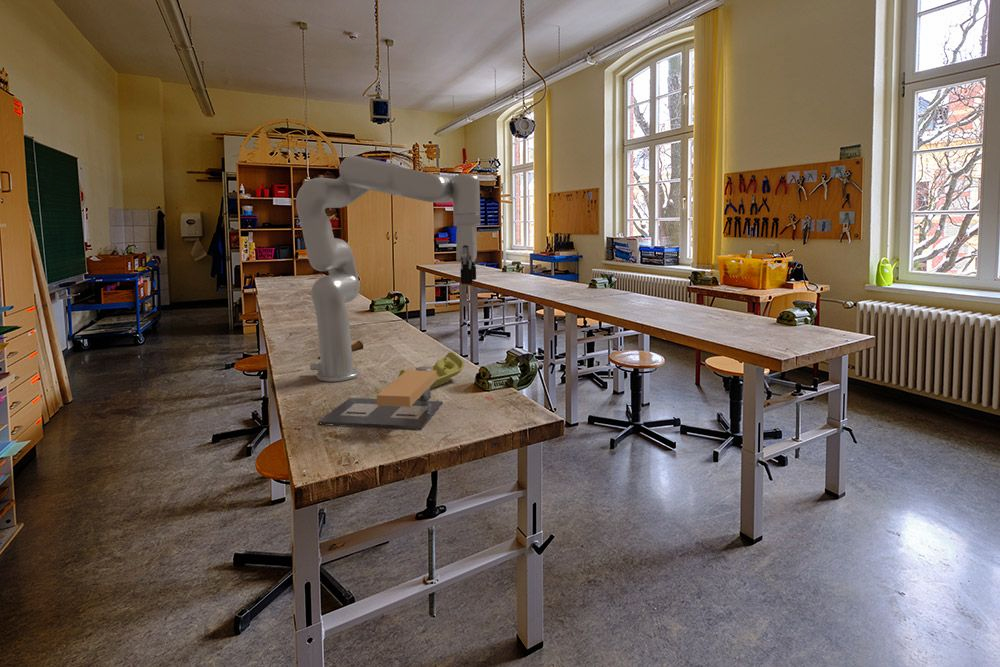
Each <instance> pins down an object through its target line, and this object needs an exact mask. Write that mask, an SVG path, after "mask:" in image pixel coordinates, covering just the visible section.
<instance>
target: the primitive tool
mask: <svg viewBox="0 0 1000 667" xmlns="http://www.w3.org/2000/svg"><path fill="white" fill-rule="evenodd" d="M351 348H352V352H355V351H358V350H363V349H364V344H363V342H362V341H361V340H357V341H356V342H355V343H353V344H351ZM317 358H318V359H317V360H320V356H318V357H317Z"/></svg>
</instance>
